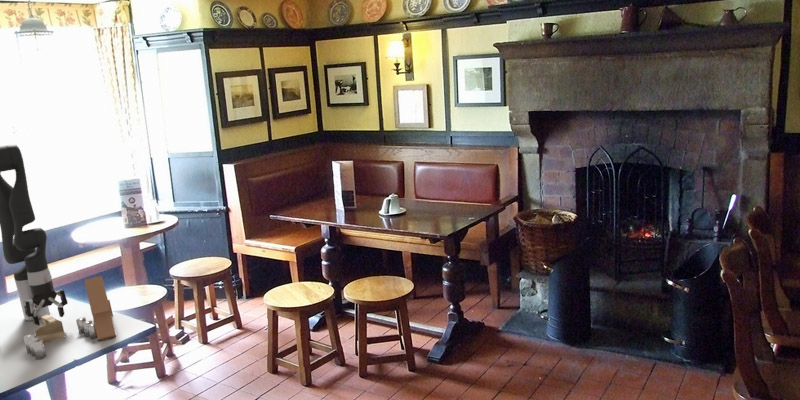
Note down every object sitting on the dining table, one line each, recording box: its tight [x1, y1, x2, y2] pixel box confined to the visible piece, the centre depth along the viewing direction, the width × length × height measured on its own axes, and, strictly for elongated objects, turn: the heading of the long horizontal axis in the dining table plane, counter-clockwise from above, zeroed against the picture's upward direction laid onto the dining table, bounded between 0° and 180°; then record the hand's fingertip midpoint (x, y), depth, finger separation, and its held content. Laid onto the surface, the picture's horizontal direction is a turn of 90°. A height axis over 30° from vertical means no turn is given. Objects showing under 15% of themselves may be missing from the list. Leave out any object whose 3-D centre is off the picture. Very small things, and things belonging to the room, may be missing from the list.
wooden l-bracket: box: [33, 314, 66, 345], centre depth 245 cm, size 14×9×6 cm, turn 47°
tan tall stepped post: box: [84, 275, 117, 342], centre depth 247 cm, size 7×23×25 cm
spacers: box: [23, 316, 98, 361], centre depth 236 cm, size 14×22×6 cm, turn 137°
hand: (49, 320), depth 248 cm, fingers open, 8 cm apart
